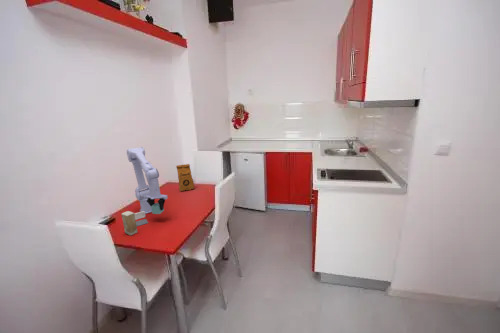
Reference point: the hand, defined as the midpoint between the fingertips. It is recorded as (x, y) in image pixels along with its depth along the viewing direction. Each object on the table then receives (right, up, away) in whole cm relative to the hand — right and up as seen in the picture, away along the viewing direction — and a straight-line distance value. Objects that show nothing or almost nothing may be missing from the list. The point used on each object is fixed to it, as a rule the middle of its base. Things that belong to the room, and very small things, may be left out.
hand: (157, 209), depth 149 cm
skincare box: (-11, -11, -11) cm, 19 cm away
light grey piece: (-13, -8, 0) cm, 15 cm away
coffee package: (+3, +7, +56) cm, 57 cm away
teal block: (0, -2, 0) cm, 2 cm away
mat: (-10, -8, 0) cm, 13 cm away
